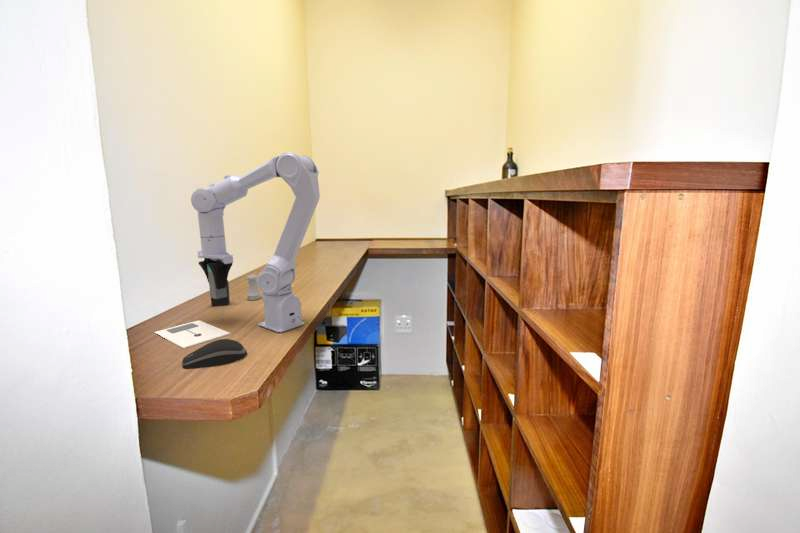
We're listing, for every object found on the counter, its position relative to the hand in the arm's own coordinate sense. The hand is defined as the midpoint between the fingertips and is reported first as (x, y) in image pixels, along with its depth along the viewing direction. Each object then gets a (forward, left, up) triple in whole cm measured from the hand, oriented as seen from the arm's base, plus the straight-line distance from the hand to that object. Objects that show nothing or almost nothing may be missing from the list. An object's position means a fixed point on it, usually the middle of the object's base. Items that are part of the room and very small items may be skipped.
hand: (217, 287), depth 101 cm
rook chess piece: (+13, -18, -10) cm, 24 cm away
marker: (0, 0, -3) cm, 3 cm away
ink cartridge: (+15, -8, -10) cm, 20 cm away
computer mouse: (-22, +13, -10) cm, 27 cm away
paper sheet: (-3, +9, -10) cm, 13 cm away
